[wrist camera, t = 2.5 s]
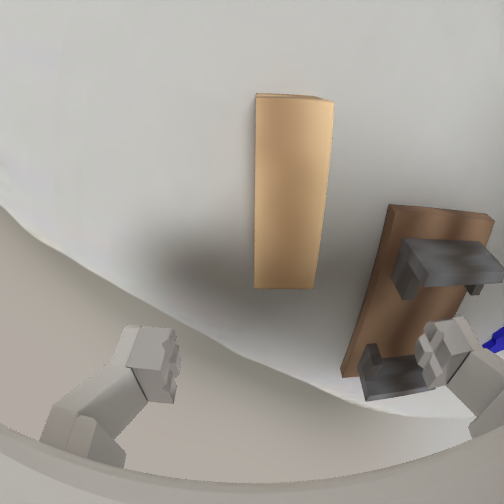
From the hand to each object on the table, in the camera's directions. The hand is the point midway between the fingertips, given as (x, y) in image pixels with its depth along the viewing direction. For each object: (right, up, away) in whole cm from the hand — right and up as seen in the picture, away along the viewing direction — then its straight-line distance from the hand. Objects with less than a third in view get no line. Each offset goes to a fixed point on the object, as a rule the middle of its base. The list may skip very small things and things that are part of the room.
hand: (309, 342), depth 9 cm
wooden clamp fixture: (+15, -3, +20) cm, 25 cm away
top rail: (0, +9, +13) cm, 16 cm away
